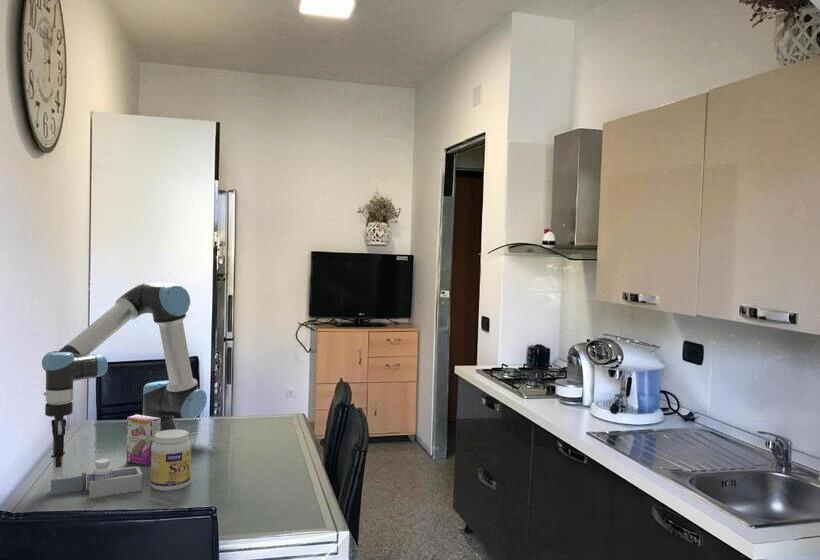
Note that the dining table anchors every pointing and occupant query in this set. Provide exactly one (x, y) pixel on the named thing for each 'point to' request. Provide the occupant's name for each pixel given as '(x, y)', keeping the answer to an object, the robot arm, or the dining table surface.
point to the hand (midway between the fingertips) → (57, 476)
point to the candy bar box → (141, 438)
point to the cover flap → (68, 484)
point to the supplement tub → (170, 460)
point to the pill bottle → (102, 470)
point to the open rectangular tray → (116, 482)
